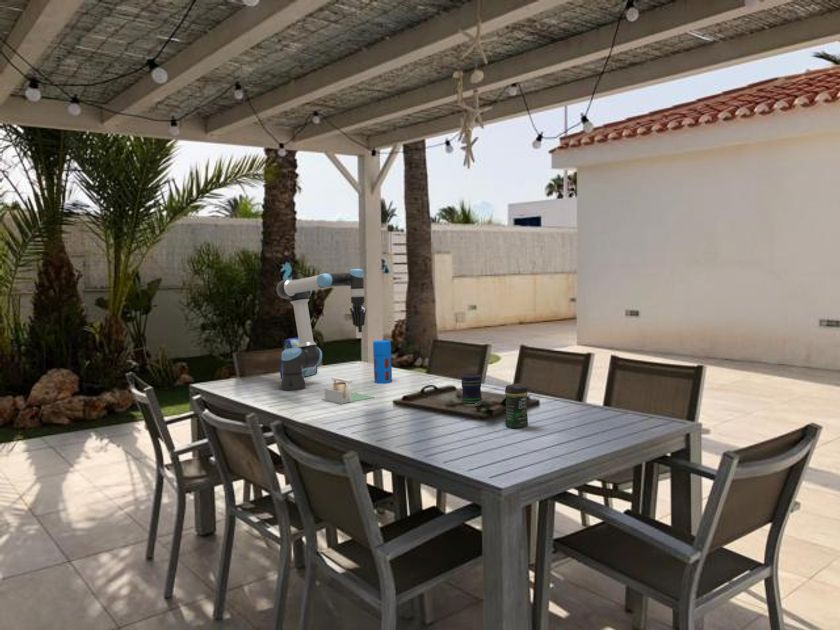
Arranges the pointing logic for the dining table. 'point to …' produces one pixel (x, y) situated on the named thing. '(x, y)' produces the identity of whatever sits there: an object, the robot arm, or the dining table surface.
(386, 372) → the thermos
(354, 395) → the pitch
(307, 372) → the lunch bag
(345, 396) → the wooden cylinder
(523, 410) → the coffee jar
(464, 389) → the storage jar
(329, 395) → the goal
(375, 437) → the dining table surface
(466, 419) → the dining table surface
